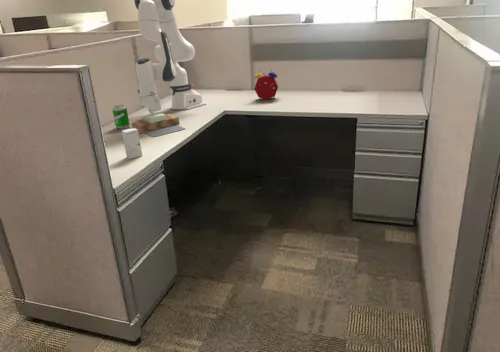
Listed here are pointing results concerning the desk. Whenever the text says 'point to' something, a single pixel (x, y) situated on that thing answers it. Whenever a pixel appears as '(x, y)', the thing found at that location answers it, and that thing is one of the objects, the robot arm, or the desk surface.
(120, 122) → the soda can
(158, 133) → the mat
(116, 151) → the desk surface
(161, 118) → the mint green box
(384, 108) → the desk surface
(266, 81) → the alarm clock
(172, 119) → the brown wooden flat block
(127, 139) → the skincare box
